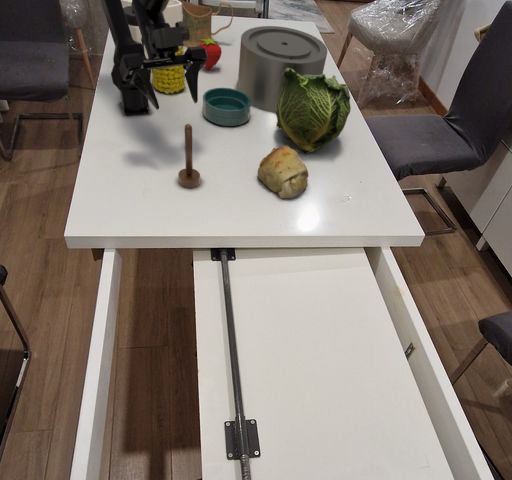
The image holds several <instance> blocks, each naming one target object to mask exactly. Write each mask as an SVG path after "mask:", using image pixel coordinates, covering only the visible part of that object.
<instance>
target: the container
mask: <svg viewBox="0 0 512 480" xmlns="http://www.w3.org/2000/svg"><path fill="white" fill-rule="evenodd" d="M239 45H240V46H239V47H240V48H239V62H238V76H237V88H236V90H238V91H241V92H243V93H245V94H246V95H247V96H248V97H249V98H250V100H251V107H254V108H257V109H259V110H262V111H265V112H270V113H274V114H276V110H277V108H276V105H277V103H278V100H279V96H280V94H281V92H282V89H283V87H284V85H283V84H284V83H285V82H286V77H285V76H283V74H284V71H285V69H287V68H291V69H293V70H294V71H295V72H297V74H299V75H301V76H303V75H305V74H307V75H321V74H324V69H325V65H326V59H327V55H328V47H327V45H326V44H325V43H324V42H323V41H321V40H320V39H319V38H317V37H316V36H315V35H312V34H310V33H308V32H305V31H302V30H299V29H296V28H290V27H286V26H277V25H276V26H275V25H263V26H261V25H260V26H255V27H252V28H249V29H247V30H245V31H244V32H243V33H242V34H241V35H240V44H239ZM306 78H307V77H306ZM312 78H314V77H312Z"/></svg>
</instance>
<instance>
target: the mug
mask: <svg viewBox="0 0 512 480" xmlns="http://www.w3.org/2000/svg"><path fill="white" fill-rule="evenodd" d="M181 3H182V21H186V23H187V26H188V29H189V33H190V39H189V40H187V41H183V45H184V46H185V47H187V48H188V47H196V46H198V45H199V44H200V43H201V42H205V41H203V40H201V39H208V38H210V39H213V38H212V36H215V35H217V34H218V33H220V32H221V31H224V30H226V29H228V28H229V27H231V25H232V22H233V19H234V18H233V17H234V8H233V6H232V5H231V4H230V3H228V2H224V1H220V2H219V8H218V10H217V11H216V12H213V9H212V7H210V6H205V5H199V4H195V3H193V2H190V1H185V0H183V1H181ZM222 5H223V6H226V7H229V8H230V9H231V19H230V21H229V23H228V24H227V25H226V26H222V27H220V28H219V29H217V31H215V32H212V21H213V20H212V18H213V17H212V16H217V15H218V14H219V13H220V11H221V7H222ZM208 35H209V36H208Z"/></svg>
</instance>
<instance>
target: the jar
mask: <svg viewBox="0 0 512 480" xmlns="http://www.w3.org/2000/svg"><path fill="white" fill-rule="evenodd" d="M131 7H132V6H127V7H124V8H123V9H124V12H125V16H126V19H127V22H128V25H129V29H130V32H131V35H132V38H133V40H134V41H136V42H139V43H141V44H142V42H141V38H142V35H141V32H140V29H139V26H138V23H137V20H136V17H135V14H133V13H132V9H131ZM144 52H145V56H146V59H149V57H148V54H147V51H146V48H145V45H144Z"/></svg>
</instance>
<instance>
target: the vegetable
mask: <svg viewBox="0 0 512 480" xmlns="http://www.w3.org/2000/svg"><path fill="white" fill-rule="evenodd" d="M283 76H285V77H286V82H285V83H284V84H283V85H284V87H283V89H282V92H281V94H280V96H279V100H278V103H277V105H276V108H277V110H276V113H275V115H276V121H277V122H276V127H277V128H278V129H281V131H282V132H283V135H284V136H285V137H286V138H290V139H291V140H292V141H293V142H294V144H295V145H297V146H298V148H299V149H300V151H301V152H302V153H303V154H305V155H306V154H309V153H311V152H314V151H316V150H318V149H321V148H323V147H325V146H327V145H328V144H330V143H331V142H333V141H334V140H335V139H337V138H338V137H339V136H340V135H341V133H342V131H343V130H344V128H345V126H346V123H347V121H348V117H349V115H350V113H351V109H352V107H351V101H350V100H351V94H350V89H349V86H348V84H347V83H339V81H338V80H337V78H336V75H332V77H328V78H327V76H326V74H324V73H323V74H321V75H307V74H305V75H303V76H301V75H299V74H297V72H295V71H294V70H293V69H291V68H287V69H285V71H284V74H283ZM306 77H307V78H306ZM312 77H314V78H312Z"/></svg>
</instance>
